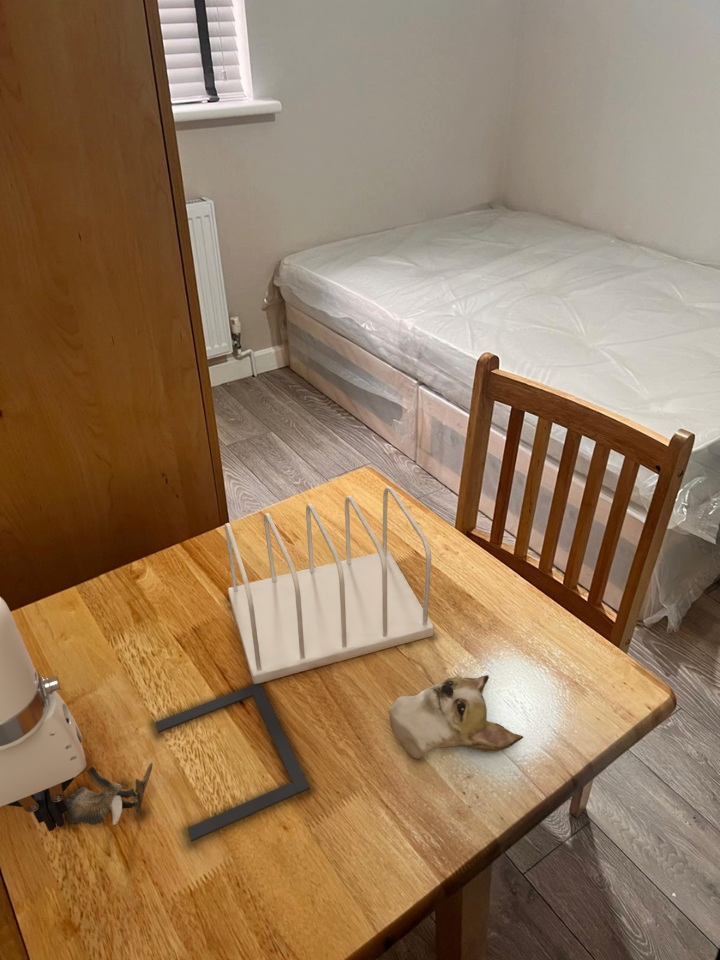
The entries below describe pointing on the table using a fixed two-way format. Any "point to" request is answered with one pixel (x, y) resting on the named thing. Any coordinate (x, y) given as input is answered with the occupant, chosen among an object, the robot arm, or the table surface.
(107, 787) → the eagle figurine
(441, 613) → the table surface
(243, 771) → the table surface
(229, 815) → the frame
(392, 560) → the file sorter
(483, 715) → the ceramic sculpture
